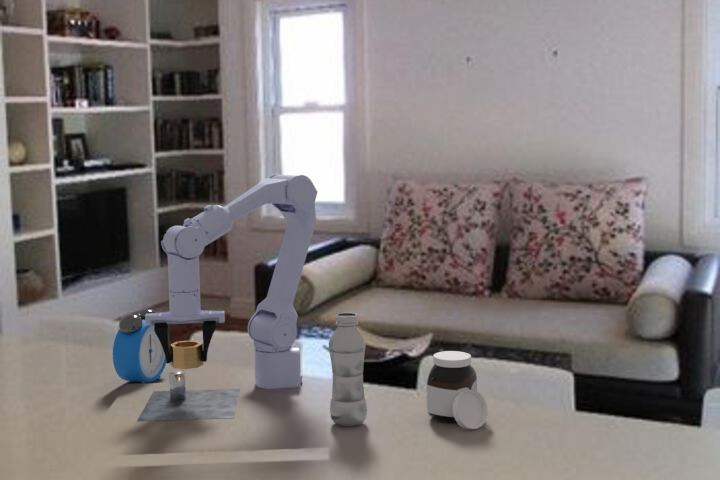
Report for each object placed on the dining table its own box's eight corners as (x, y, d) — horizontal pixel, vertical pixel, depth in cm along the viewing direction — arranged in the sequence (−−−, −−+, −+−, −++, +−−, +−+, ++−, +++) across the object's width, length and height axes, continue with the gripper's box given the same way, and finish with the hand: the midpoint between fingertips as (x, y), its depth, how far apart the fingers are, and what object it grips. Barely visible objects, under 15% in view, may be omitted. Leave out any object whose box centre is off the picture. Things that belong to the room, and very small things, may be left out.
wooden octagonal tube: (207, 362, 165) (207, 341, 164) (192, 370, 160) (191, 348, 159) (182, 360, 167) (181, 339, 166) (166, 367, 162) (165, 346, 161)
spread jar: (444, 406, 165) (444, 347, 163) (500, 416, 159) (501, 354, 157) (415, 425, 154) (415, 361, 153) (474, 436, 149) (474, 370, 147)
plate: (240, 396, 173) (239, 364, 172) (233, 426, 155) (232, 390, 154) (153, 398, 171) (152, 366, 171) (137, 429, 154) (135, 393, 153)
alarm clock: (138, 391, 177) (135, 318, 175) (112, 388, 179) (108, 317, 177) (171, 374, 189) (168, 306, 187) (146, 371, 191) (143, 305, 189)
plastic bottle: (363, 431, 151) (362, 319, 149) (325, 429, 153) (324, 317, 150) (370, 419, 158) (369, 311, 155) (334, 417, 159) (332, 310, 157)
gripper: (224, 285, 167) (226, 354, 168) (146, 287, 165) (149, 357, 166) (223, 291, 160) (225, 363, 161) (142, 294, 158) (145, 367, 159)
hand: (186, 361), depth 163 cm, fingers closed on wooden octagonal tube, 6 cm apart
